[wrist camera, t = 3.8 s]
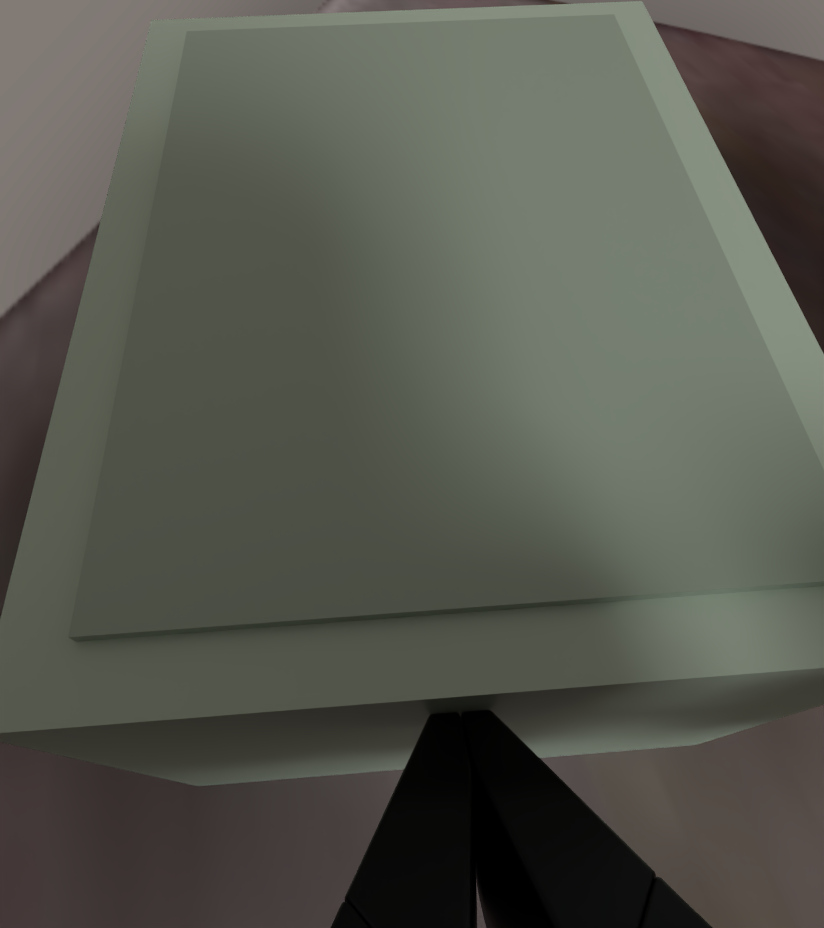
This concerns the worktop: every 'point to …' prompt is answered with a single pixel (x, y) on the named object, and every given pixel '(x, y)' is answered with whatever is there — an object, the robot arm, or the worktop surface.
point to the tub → (419, 411)
